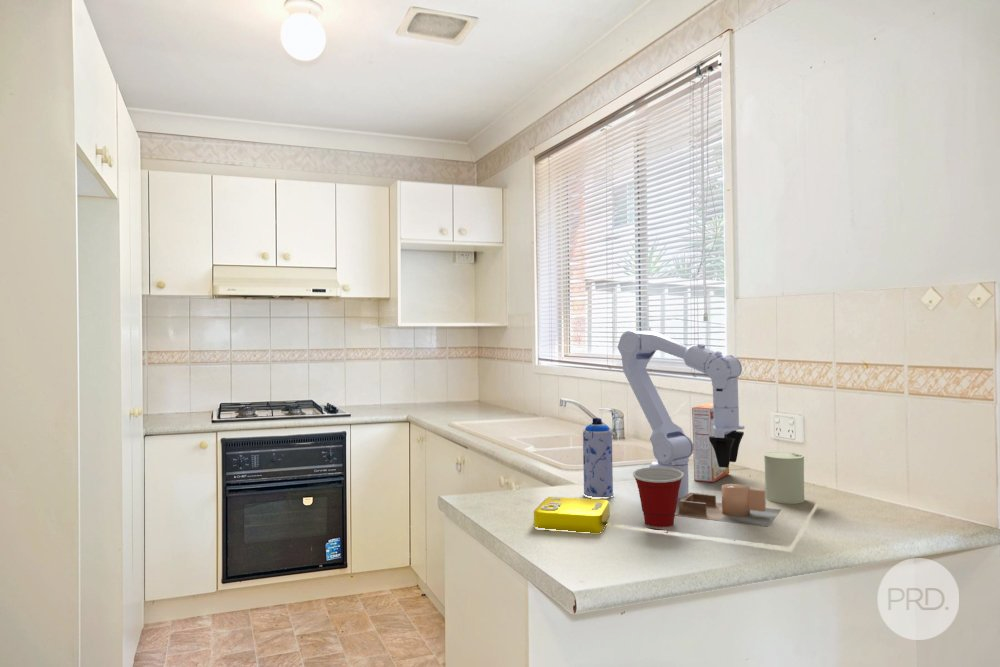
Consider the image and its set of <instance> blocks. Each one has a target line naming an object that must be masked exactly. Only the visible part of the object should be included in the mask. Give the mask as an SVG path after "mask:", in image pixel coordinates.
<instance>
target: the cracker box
mask: <svg viewBox="0 0 1000 667" xmlns="http://www.w3.org/2000/svg"><path fill="white" fill-rule="evenodd" d="M691 415H692V416H691V417H692V418H691V420H692V425H691V426H692V443H693V453H692V454H693V479H694V481H695V482H706V483H714V482H717V481H718V480H721V479H722V478H723V477H725V476H727V475H729V474H730V466H729V467H728V468H725V467H719V465H718V462H717V458H716V454H715V451H714V448H713V446H712V444H711V442H710V441H709V437H710V436H715V430H714V429H713V425H714V413H713V401H711V402H707V403H703V404H700V405H697V406H692V407H691Z"/></svg>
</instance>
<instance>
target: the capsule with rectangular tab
mask: <svg viewBox="0 0 1000 667" xmlns="http://www.w3.org/2000/svg"><path fill="white" fill-rule="evenodd" d="M721 503H722V513H723V514H725V515H728V516H735V517H744V516H749V515H750V510H755V511H764V512H765V511H766V508H767V507H766V506H767V505H766V503H767V502H766V499H765V489H758V488H750V486H749V485H746V484H741V483H726V484H725V483H724V484H722V485H721Z"/></svg>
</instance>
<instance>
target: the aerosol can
mask: <svg viewBox="0 0 1000 667" xmlns="http://www.w3.org/2000/svg"><path fill="white" fill-rule="evenodd" d="M582 447H583V448H582V450H583V451H582V453H583V455H582V457H583V458H582V460H583V493H584V494H585V495H587V496H592V497H611V496H613V495H614V484H613V483H614V481H613V480H614V478H613V477H614V476H613V475H614V474H613V433H612V429H611V428H610V427H609V426H608V425H606V424H605V423H604V422H602V418H600V417H594V418H592V422H590V423H589V424H587V425H586V427H585V428H584V429H583V431H582Z"/></svg>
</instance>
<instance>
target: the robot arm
mask: <svg viewBox="0 0 1000 667" xmlns="http://www.w3.org/2000/svg"><path fill="white" fill-rule="evenodd" d="M619 338H620V339H619V341H618V345H617V349H618V351H619V354H620V356H621V363H622V370H623V373H624V375H625V377H626V380H627V382H628V383H629V385H630V387H631V390H632V392H633V394H634V396H635V398H636V400H637V402H638V404H639V406H640V409H641V410H642V413H643V414H644V416H645V418H646V420H647V422H648V423H649V425H650V428H651V429H652V430H651V431H652V433H651V435H650V438H649V441H650V443H651V445H652V453H653V456H654V458H655V460H657V461H652V462H651V463H650V465H649V467H666V468H673V469H677V470H680V471H681V472H683V474H684V476H683V478H682V480H681V484H680V488H679V493H678V499H679V500H680V499H682V498H684V497H685V496H686V495H688V494H689V493H690V491H689V490H690V489H689V462H690V457H691V456H692V454H693V440H691V438H690V437H689V436H688V435H686V433H685V432H684V430H683V428H682V427H680V426H679V425H677V424H676V423H675V422H673V421H672V418H671V416H670V414H669V412H668V410H667V408H666V407H665V405H664V402H663V401H662V398H661V397H660V394H659V393H658V390H657V389H656V387H655V384H654V383H653V381H652V378H651V377H650V375H649V373H648V371H647V367H648V364H649V363H650V362H651V360H652V358H653V356H654V355H655V353H656V352H657V351H661V352H663V353H664V354H665V353H666V354H668V355H671V356H674V357H677V358H679V359H683V362H684V364H685V366H687V367H689V368H691V369H693V370H696V371H698V372H701V373H703V374H706V375H708V377H709V378H710V380H711V386H712V402H713V413H714V425H713V429H714V430H715V436H710V437H709V441H710V442H711V444H712V446H713V448H714V451H715V454H716V458H717V462H718V465H719V467H725V468H728V467H729V468H730V463H736V462H737V459H738V454H739V448H740V444H741V441H742V439H743V437H744V433H745V432H744V431H739V430H744V429H745V425H740V416H739V413H740V412H739V411H740V410H739V407H740V406H739V383H738V378H739V377H740V376H741V374H742V370H743V368H742V366H743V365H742V363H741V362H740V360H739V359H738V358H736V357H735V356H733V355H725V356H724V355H723V352H721V351H713V350H711V349H709V348H706V345H705V344H704V343H698V344H692V345H691V346H687V345H685V344H683V343H681V342H679V341H676V339H672V338H670V337H668V336H666V335H664V334H662V333H660V332H654V331H653V330H650V329H649V330H643V331H642V330H637V331H633V330H627V331H624V332H623V333H622V334H621V335H620V337H619Z"/></svg>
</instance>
